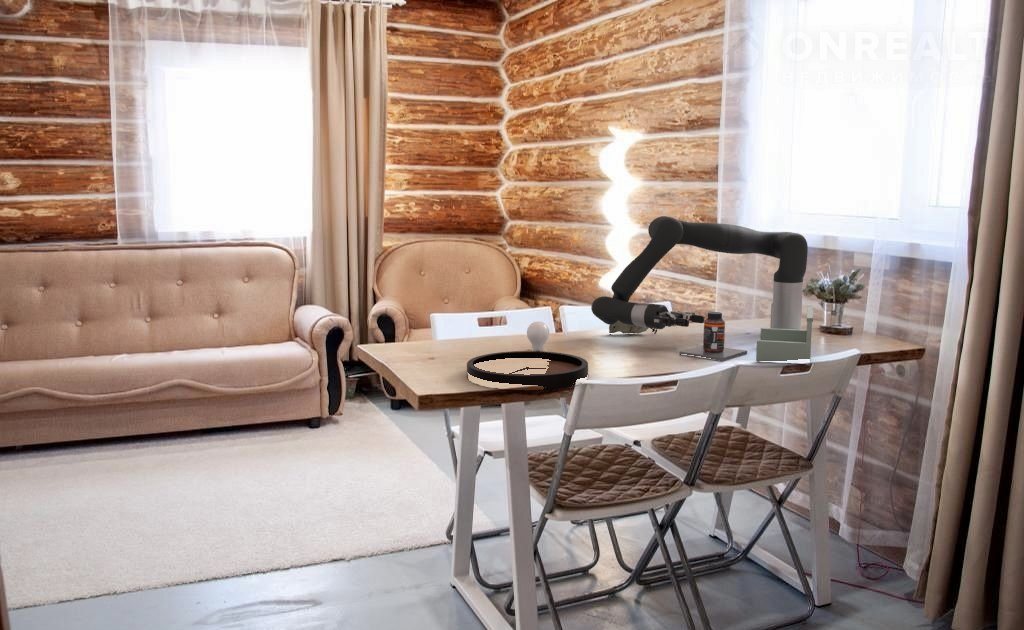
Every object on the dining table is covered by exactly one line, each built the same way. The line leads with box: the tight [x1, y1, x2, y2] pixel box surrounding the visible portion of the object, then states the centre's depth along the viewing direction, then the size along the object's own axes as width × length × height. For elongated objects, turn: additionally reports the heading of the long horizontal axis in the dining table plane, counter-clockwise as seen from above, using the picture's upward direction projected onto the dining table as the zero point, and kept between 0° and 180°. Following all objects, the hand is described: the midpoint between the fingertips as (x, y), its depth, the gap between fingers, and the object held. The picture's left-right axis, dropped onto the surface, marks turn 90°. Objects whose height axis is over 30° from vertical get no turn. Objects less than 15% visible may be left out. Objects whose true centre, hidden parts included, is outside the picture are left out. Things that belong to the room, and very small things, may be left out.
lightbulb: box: [526, 321, 550, 351], centre depth 242 cm, size 6×6×11 cm
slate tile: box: [679, 344, 748, 362], centre depth 249 cm, size 14×14×1 cm
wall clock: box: [466, 350, 589, 391], centre depth 222 cm, size 31×4×31 cm
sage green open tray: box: [755, 306, 814, 366], centre depth 245 cm, size 14×22×13 cm, turn 161°
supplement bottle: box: [702, 311, 726, 352], centre depth 248 cm, size 6×6×11 cm
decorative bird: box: [608, 321, 658, 335], centre depth 282 cm, size 5×16×8 cm, turn 95°
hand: (696, 321), depth 252 cm, fingers open, 8 cm apart
